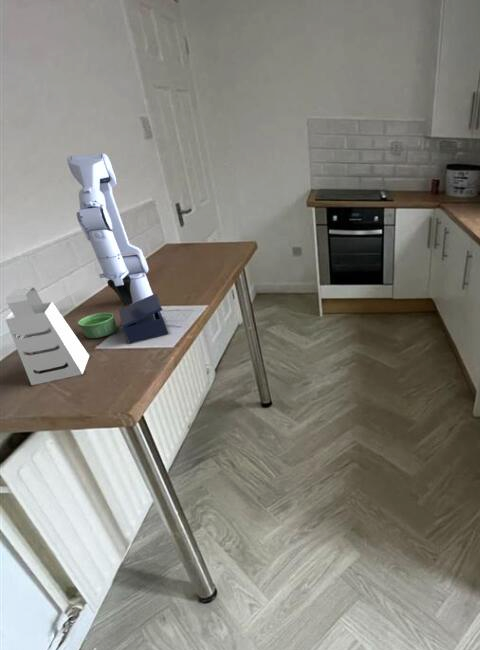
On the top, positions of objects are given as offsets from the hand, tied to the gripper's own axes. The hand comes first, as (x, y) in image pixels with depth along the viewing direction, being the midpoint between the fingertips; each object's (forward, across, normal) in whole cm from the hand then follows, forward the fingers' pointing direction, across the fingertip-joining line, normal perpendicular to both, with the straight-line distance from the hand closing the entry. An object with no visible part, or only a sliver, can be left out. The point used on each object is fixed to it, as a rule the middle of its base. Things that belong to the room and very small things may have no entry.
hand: (128, 303), depth 120 cm
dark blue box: (+7, +4, +2) cm, 9 cm away
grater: (+8, +17, -18) cm, 26 cm away
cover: (+2, +4, +2) cm, 5 cm away
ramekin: (+7, -2, -9) cm, 12 cm away
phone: (+7, +4, +3) cm, 8 cm away
